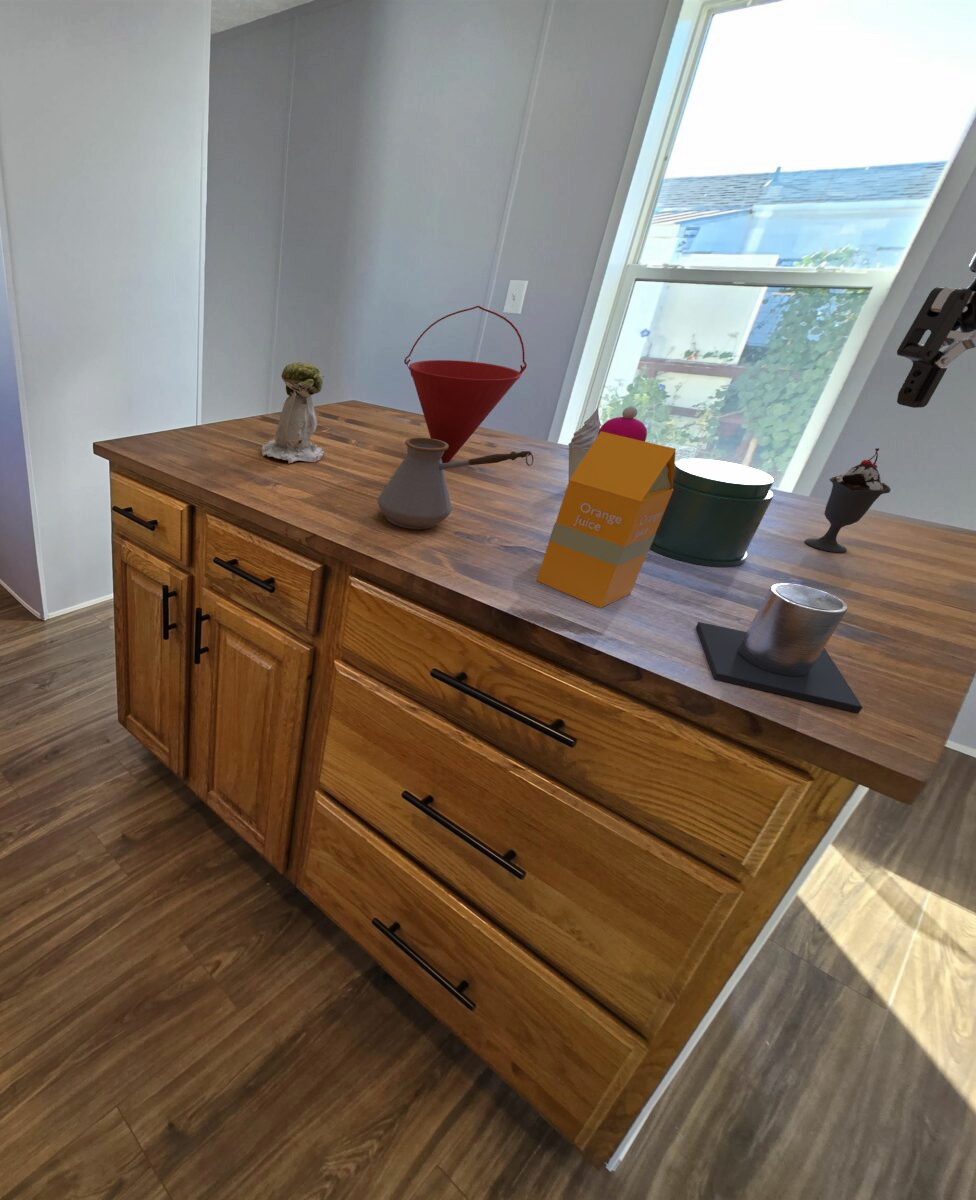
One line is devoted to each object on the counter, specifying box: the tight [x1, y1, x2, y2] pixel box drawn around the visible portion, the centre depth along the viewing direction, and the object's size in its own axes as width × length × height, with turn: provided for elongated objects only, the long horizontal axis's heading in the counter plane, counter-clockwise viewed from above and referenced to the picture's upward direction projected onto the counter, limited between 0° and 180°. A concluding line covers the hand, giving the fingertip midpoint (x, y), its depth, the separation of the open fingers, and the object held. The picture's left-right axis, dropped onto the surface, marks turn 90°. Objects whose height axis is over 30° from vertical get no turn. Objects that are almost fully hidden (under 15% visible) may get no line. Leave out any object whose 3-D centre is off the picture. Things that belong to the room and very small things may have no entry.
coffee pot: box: [377, 437, 535, 530], centre depth 100 cm, size 21×12×15 cm, turn 44°
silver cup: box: [738, 582, 849, 677], centre depth 70 cm, size 6×6×8 cm
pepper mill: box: [597, 406, 648, 442], centre depth 98 cm, size 7×7×20 cm
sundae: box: [804, 447, 891, 554], centre depth 97 cm, size 7×7×15 cm
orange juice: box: [536, 432, 677, 609], centre depth 83 cm, size 8×9×20 cm
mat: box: [695, 621, 863, 714], centre depth 72 cm, size 12×12×1 cm
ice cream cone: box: [567, 407, 602, 484], centre depth 118 cm, size 5×5×15 cm
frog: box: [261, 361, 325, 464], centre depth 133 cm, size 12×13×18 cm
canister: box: [649, 458, 775, 568], centre depth 97 cm, size 14×14×12 cm
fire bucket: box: [403, 305, 527, 463], centre depth 124 cm, size 22×20×30 cm
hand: (951, 405), depth 64 cm, fingers open, 8 cm apart
